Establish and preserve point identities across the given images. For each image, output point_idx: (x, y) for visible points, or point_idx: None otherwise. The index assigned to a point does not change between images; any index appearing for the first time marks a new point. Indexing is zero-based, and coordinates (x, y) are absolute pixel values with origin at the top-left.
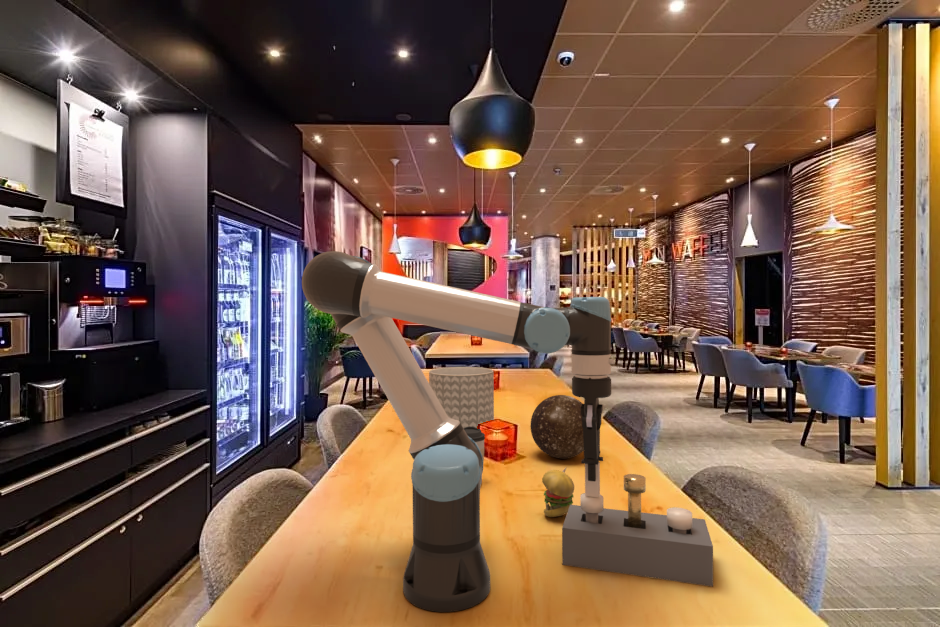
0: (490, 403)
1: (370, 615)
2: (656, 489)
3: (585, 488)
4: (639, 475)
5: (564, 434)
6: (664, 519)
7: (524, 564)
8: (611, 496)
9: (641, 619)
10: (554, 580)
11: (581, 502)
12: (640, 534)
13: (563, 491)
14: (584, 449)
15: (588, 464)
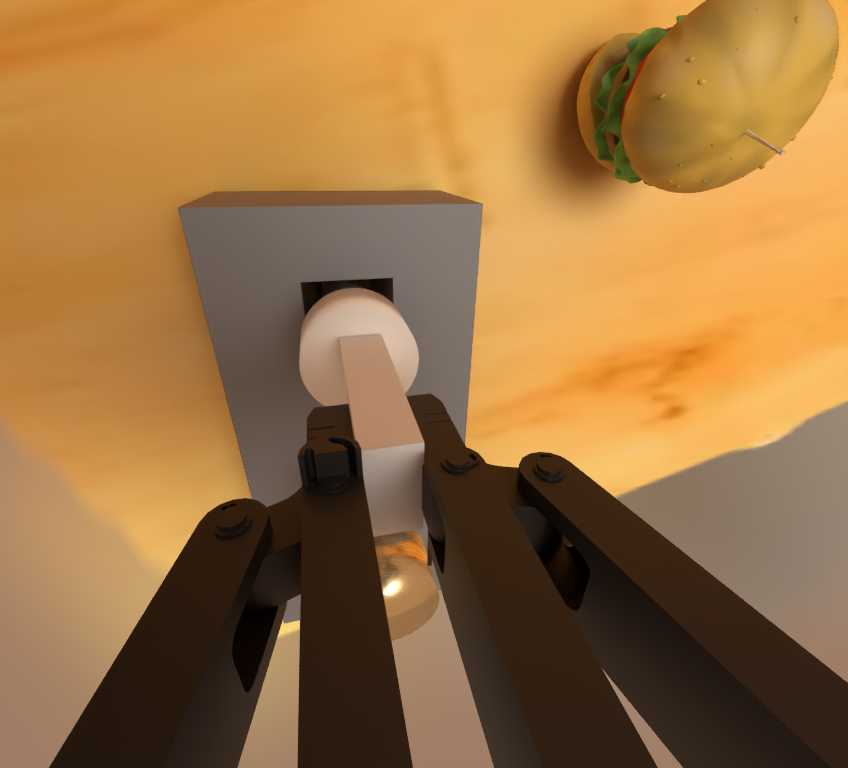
0: None
1: None
2: (788, 394)
3: (342, 357)
4: (425, 616)
5: None
6: (424, 519)
7: (127, 14)
8: (764, 285)
9: (29, 447)
10: (75, 180)
11: (325, 308)
12: (275, 487)
13: (634, 144)
14: (113, 680)
15: (297, 495)
